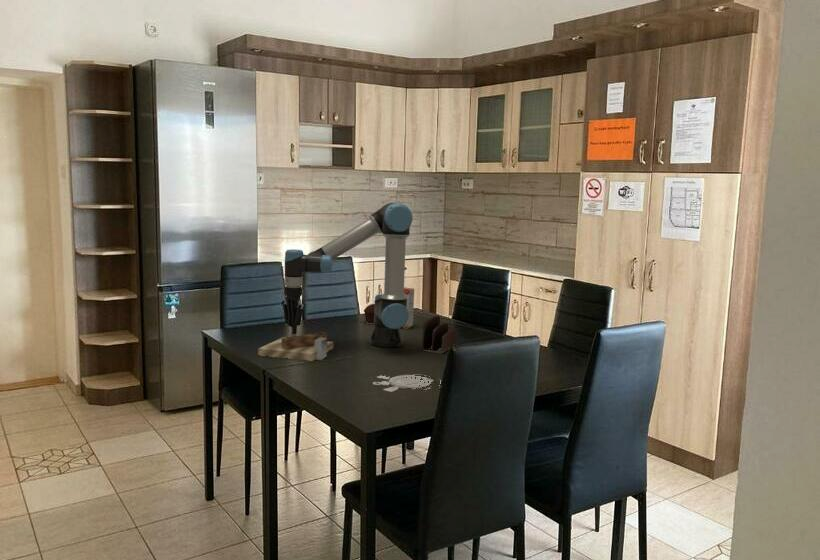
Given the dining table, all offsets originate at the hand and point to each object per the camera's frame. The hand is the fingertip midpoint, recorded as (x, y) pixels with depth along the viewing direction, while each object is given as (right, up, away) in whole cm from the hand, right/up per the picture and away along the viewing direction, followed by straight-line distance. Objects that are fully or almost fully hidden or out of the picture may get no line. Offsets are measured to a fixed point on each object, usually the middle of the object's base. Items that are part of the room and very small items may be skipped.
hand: (292, 341), depth 284 cm
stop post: (+13, -6, -7) cm, 16 cm away
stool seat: (+2, -5, +2) cm, 5 cm away
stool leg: (+5, -2, +1) cm, 6 cm away
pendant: (+50, -13, -38) cm, 64 cm away
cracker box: (+44, +1, +63) cm, 77 cm away
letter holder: (+64, -5, +18) cm, 66 cm away
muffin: (+31, +3, +71) cm, 78 cm away
